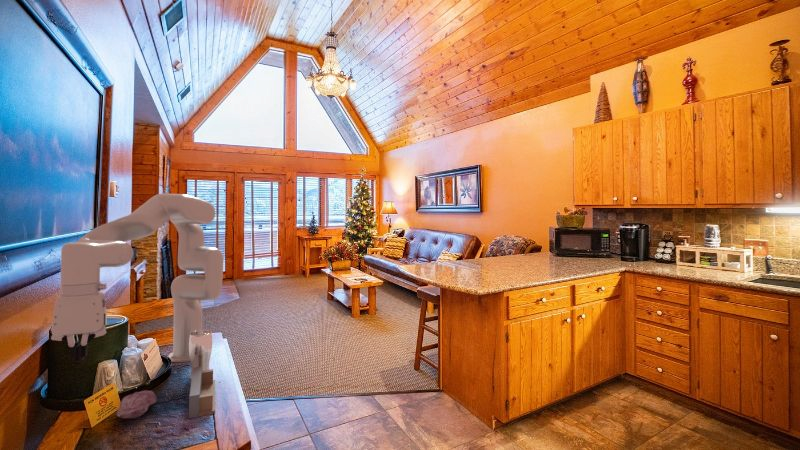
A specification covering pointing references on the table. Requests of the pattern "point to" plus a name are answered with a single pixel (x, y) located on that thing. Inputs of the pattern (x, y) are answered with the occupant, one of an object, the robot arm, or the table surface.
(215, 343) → the table surface
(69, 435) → the table surface
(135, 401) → the pink rounded lump
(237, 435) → the table surface
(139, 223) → the robot arm
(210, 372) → the beige stepped bar
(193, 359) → the beer glass
